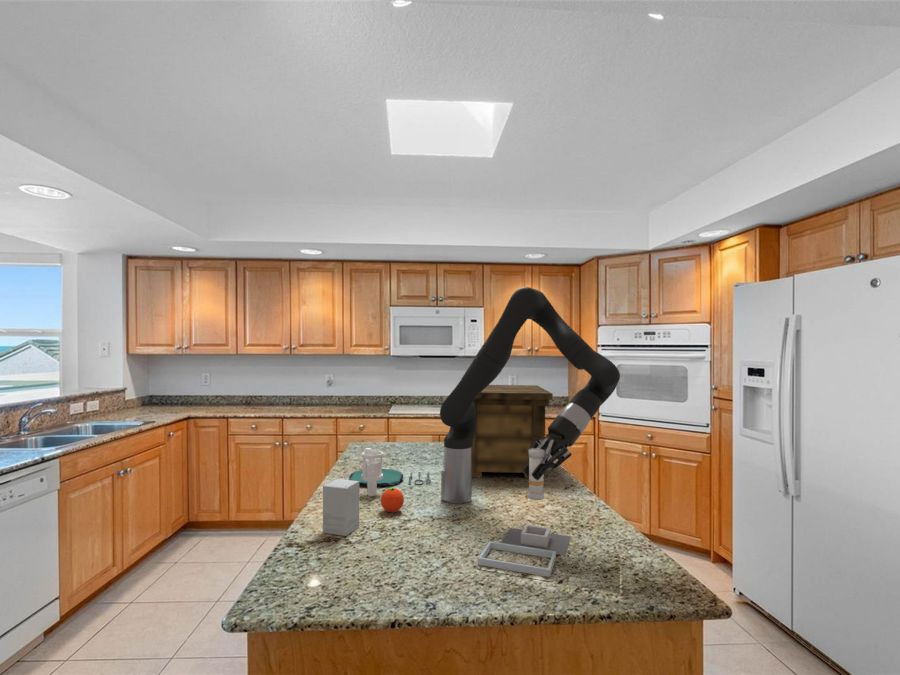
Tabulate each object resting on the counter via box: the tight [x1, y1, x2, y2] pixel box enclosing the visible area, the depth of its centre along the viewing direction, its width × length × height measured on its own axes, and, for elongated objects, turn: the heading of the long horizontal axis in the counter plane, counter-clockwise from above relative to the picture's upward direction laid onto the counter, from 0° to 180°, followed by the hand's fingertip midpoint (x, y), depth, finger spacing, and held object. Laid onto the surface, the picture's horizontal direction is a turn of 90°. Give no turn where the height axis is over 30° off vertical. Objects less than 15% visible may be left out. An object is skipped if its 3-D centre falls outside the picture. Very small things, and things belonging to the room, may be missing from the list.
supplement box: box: [322, 478, 360, 537], centre depth 131 cm, size 7×7×13 cm
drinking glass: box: [361, 447, 384, 497], centre depth 162 cm, size 7×7×15 cm
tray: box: [477, 541, 557, 583], centre depth 111 cm, size 16×10×3 cm, turn 70°
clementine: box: [380, 487, 405, 513], centre depth 146 cm, size 8×7×7 cm
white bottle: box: [527, 448, 545, 501], centre depth 123 cm, size 4×4×12 cm
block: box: [500, 524, 572, 556], centre depth 122 cm, size 16×12×4 cm
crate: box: [472, 384, 554, 479], centre depth 197 cm, size 35×35×33 cm
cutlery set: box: [348, 468, 432, 486], centre depth 179 cm, size 20×30×2 cm, turn 92°
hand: (529, 475), depth 122 cm, fingers closed on white bottle, 3 cm apart
